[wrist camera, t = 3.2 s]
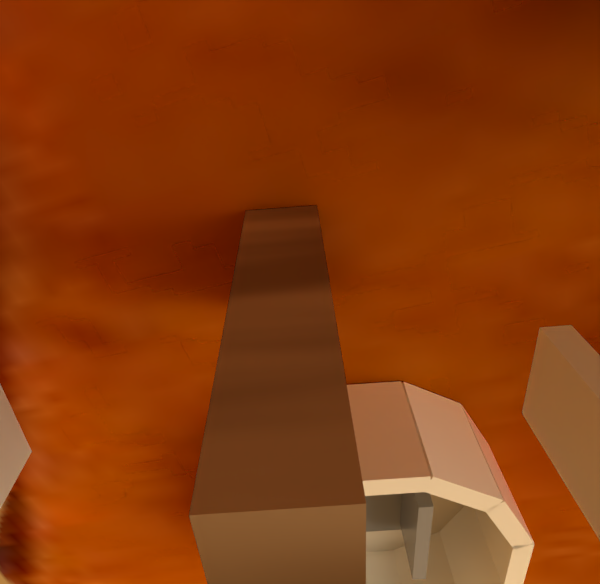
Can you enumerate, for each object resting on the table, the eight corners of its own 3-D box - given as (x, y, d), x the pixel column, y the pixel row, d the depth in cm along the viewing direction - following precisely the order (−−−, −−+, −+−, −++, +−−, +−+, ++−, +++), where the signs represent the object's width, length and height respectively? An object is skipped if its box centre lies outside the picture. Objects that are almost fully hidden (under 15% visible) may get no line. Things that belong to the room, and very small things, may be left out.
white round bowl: (232, 392, 21) (219, 490, 17) (500, 374, 21) (556, 467, 17) (260, 553, 27) (255, 656, 23) (471, 539, 27) (506, 640, 23)
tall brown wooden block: (245, 210, 17) (189, 515, 7) (316, 205, 17) (366, 504, 7) (257, 307, 19) (227, 656, 9) (321, 303, 19) (365, 647, 9)
